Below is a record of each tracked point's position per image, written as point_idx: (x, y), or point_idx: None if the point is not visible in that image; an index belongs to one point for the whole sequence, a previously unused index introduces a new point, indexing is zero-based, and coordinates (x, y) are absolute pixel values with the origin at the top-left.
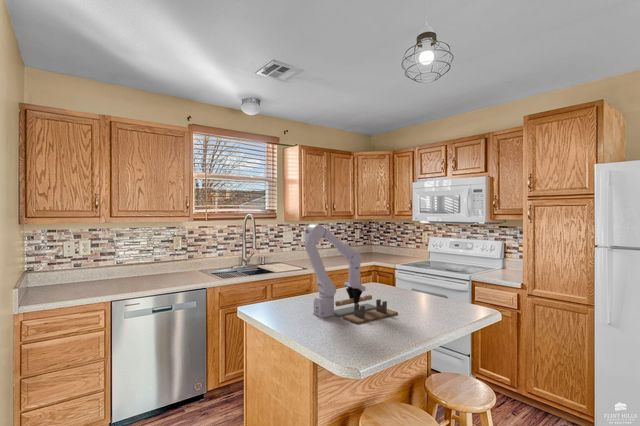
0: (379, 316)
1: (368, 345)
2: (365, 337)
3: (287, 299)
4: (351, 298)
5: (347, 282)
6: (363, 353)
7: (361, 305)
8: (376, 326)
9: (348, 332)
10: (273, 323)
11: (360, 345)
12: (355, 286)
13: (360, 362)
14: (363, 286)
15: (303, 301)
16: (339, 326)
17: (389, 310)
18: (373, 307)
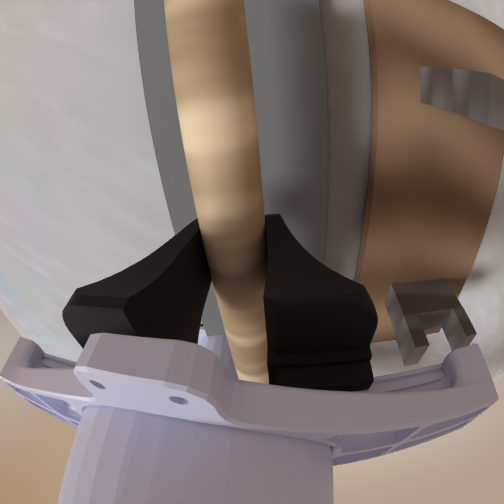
0: (492, 194)
1: (500, 350)
2: (488, 340)
3: (19, 329)
4: (241, 307)
5: (12, 381)
6: (496, 365)
7: (167, 78)
8: (499, 271)
9: (440, 361)
10: None
11: (486, 361)
12: (332, 463)
13: (496, 375)
14: (456, 416)
15: (29, 311)
16: (391, 366)
17: (455, 16)
18: (289, 14)
